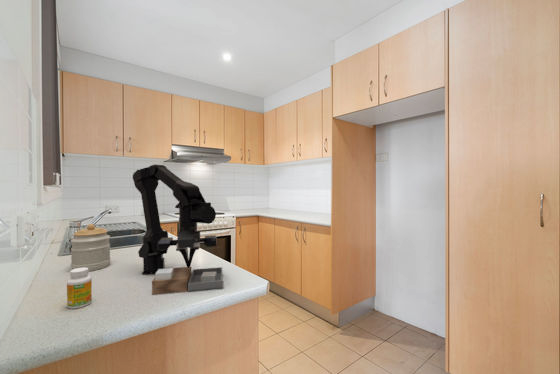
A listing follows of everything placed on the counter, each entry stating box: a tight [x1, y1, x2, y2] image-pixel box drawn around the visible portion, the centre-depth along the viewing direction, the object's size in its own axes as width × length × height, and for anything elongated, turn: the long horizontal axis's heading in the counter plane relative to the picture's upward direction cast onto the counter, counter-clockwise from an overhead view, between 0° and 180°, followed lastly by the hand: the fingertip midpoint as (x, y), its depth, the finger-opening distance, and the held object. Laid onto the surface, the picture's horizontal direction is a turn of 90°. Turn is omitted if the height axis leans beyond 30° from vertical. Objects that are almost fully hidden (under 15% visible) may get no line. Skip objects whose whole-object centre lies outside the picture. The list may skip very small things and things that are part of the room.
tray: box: [187, 266, 224, 293], centre depth 87 cm, size 10×14×2 cm
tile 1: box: [201, 271, 217, 282], centre depth 88 cm, size 4×4×2 cm
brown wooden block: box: [151, 266, 192, 296], centre depth 84 cm, size 10×12×4 cm
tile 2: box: [154, 267, 175, 280], centre depth 81 cm, size 4×4×2 cm
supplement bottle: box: [66, 268, 93, 310], centre depth 71 cm, size 5×5×10 cm
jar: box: [70, 223, 112, 272], centre depth 104 cm, size 13×13×18 cm
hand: (188, 267), depth 88 cm, fingers closed
